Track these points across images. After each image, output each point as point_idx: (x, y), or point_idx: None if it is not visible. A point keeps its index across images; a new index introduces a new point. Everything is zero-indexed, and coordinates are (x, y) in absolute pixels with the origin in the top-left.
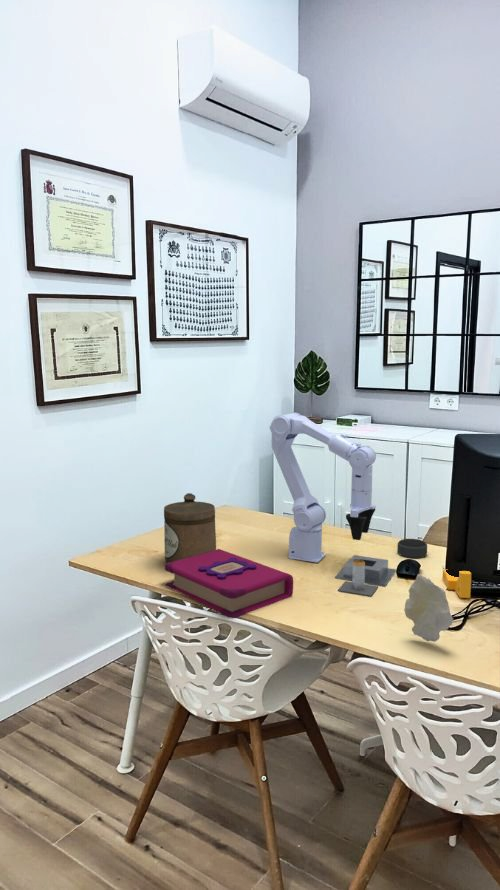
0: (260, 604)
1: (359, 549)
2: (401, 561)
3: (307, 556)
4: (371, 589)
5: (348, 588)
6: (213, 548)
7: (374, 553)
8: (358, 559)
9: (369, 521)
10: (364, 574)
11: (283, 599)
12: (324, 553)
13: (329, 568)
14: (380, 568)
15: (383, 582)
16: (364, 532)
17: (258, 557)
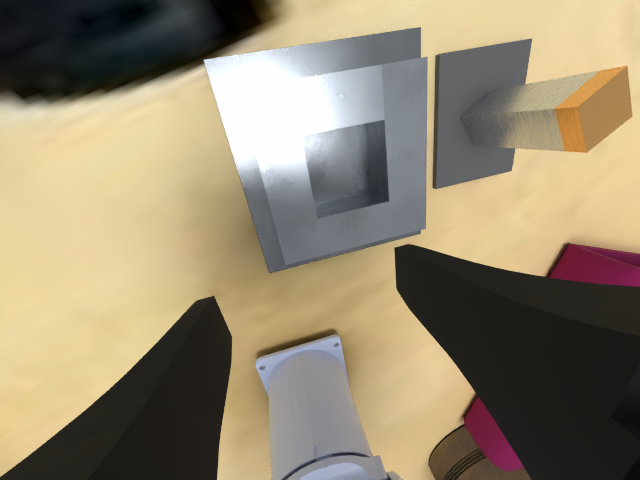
0: (637, 259)
1: (72, 332)
2: (29, 101)
3: (342, 369)
4: (477, 66)
5: (491, 147)
6: (513, 476)
7: (56, 266)
8: (586, 124)
9: (168, 369)
10: (549, 80)
11: (588, 246)
12: (257, 365)
13: (341, 290)
14: (391, 68)
15: (400, 46)
16: (220, 313)
17: (364, 432)
